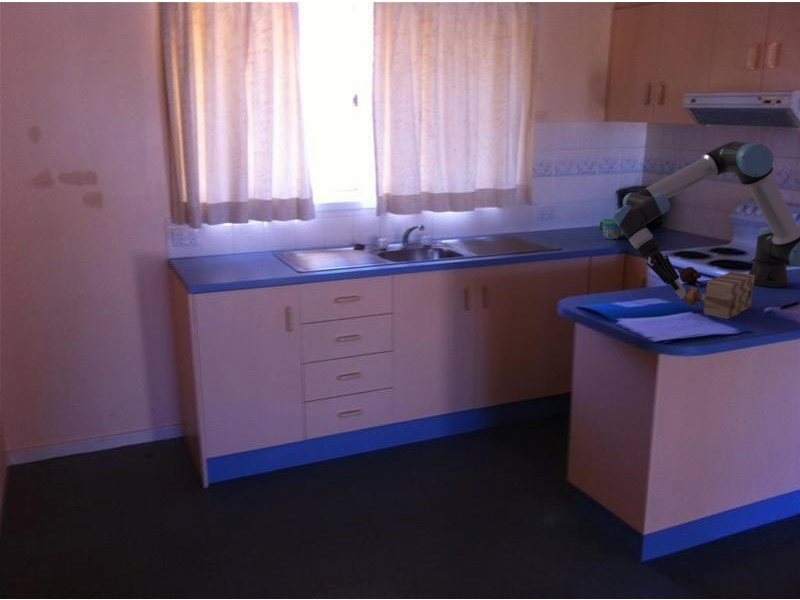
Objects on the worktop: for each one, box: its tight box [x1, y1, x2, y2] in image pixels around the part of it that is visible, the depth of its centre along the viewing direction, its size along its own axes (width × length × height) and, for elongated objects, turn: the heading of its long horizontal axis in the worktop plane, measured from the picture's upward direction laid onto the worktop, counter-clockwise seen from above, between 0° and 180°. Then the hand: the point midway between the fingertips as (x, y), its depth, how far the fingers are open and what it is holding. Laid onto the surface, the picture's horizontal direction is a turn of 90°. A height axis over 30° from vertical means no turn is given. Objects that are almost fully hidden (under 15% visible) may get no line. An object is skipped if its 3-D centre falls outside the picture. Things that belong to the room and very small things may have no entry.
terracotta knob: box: [684, 286, 706, 306], centre depth 248 cm, size 6×10×6 cm, turn 46°
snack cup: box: [598, 218, 625, 241], centre depth 386 cm, size 16×10×10 cm
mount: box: [702, 271, 755, 319], centre depth 249 cm, size 22×8×12 cm, turn 136°
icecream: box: [676, 266, 702, 285], centre depth 290 cm, size 7×7×15 cm
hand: (684, 296), depth 252 cm, fingers closed
